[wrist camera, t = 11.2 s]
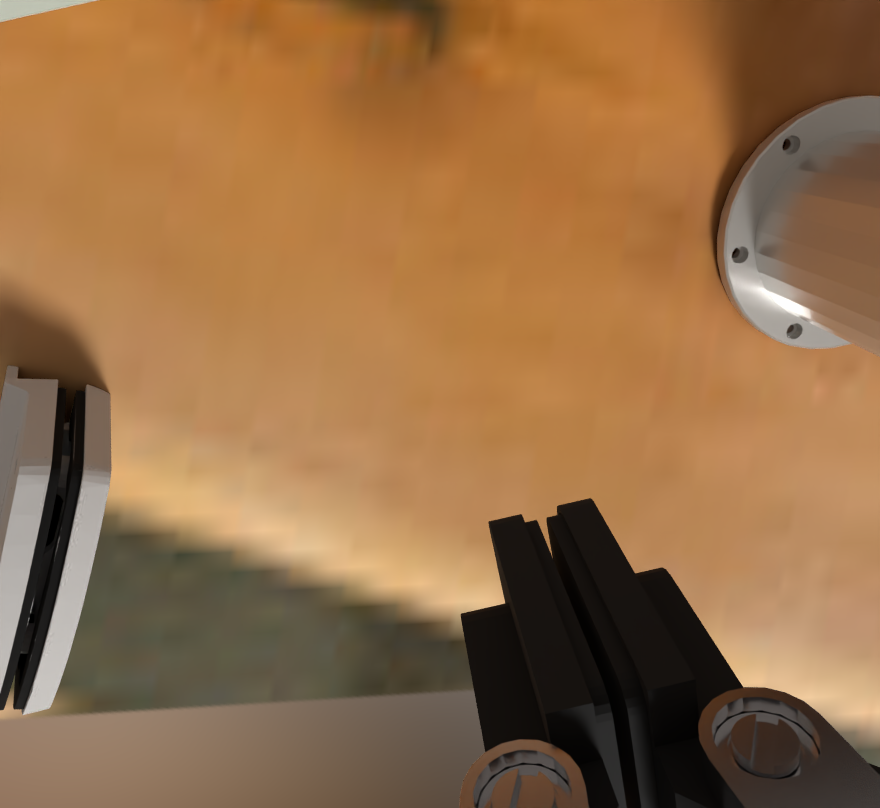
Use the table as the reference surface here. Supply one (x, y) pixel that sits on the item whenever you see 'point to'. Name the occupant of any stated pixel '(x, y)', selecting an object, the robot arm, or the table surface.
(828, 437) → the table surface
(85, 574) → the grey piece
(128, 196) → the table surface
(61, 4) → the card
